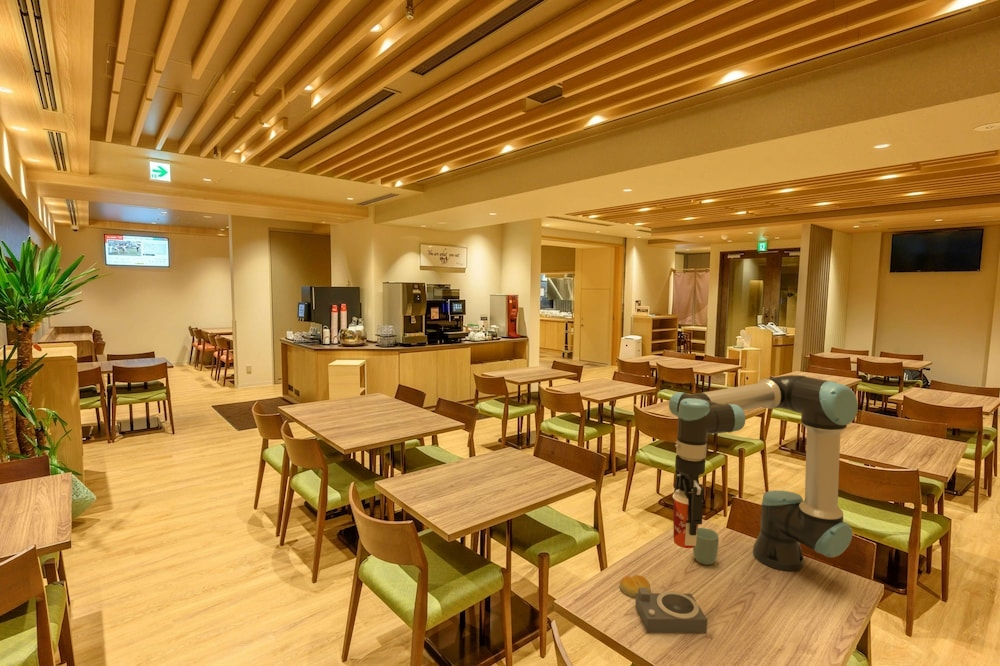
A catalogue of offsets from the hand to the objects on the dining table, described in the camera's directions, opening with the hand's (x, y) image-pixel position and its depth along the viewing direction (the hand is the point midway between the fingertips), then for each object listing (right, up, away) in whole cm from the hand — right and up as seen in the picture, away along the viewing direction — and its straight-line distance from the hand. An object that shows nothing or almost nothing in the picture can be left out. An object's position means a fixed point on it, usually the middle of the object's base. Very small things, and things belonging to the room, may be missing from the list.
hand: (685, 537), depth 136 cm
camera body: (-4, -24, +2) cm, 24 cm away
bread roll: (-9, -23, +15) cm, 29 cm away
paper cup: (0, -2, 0) cm, 2 cm away
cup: (+18, -21, +31) cm, 42 cm away
